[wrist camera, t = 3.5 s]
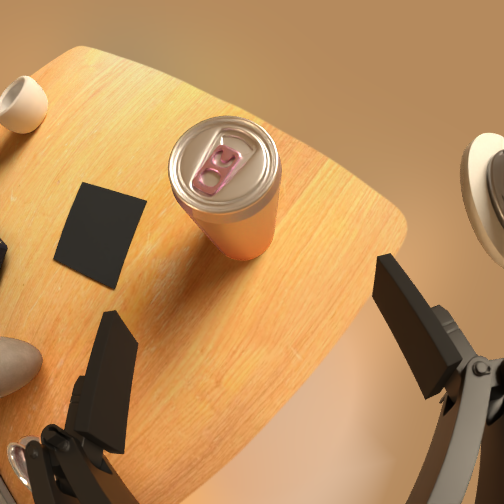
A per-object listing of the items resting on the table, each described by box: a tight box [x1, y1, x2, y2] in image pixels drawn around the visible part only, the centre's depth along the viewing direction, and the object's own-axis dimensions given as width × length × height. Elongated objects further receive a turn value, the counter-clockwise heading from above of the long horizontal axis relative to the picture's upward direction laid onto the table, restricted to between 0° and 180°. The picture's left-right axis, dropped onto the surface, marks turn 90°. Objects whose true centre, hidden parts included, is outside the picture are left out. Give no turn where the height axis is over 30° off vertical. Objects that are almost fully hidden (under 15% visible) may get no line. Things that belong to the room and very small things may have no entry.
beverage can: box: [168, 116, 282, 260], centre depth 21 cm, size 6×6×15 cm
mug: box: [0, 76, 48, 134], centre depth 30 cm, size 12×8×8 cm
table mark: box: [53, 182, 147, 289], centre depth 29 cm, size 10×10×1 cm
